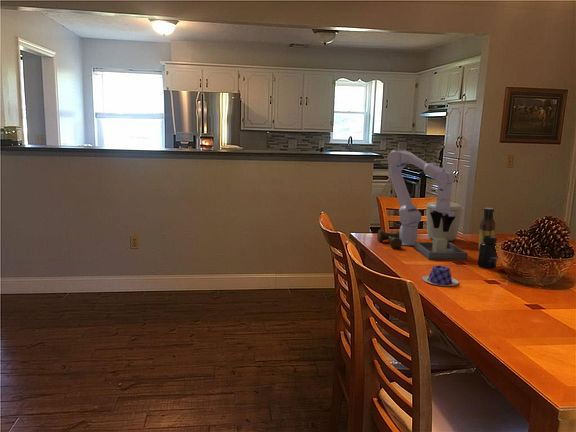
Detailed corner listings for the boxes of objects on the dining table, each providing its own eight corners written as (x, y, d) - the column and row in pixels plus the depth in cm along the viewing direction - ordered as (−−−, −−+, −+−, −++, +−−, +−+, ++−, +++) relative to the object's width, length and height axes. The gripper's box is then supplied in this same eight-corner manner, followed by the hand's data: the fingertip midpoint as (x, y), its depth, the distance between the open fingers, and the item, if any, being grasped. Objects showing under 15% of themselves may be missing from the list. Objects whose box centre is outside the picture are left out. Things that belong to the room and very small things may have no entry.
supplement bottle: (493, 270, 173) (497, 239, 171) (475, 266, 177) (478, 236, 175) (498, 266, 179) (501, 236, 176) (480, 263, 183) (483, 234, 180)
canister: (416, 239, 222) (420, 196, 219) (430, 233, 237) (433, 193, 233) (454, 245, 212) (458, 200, 208) (465, 239, 226) (470, 197, 222)
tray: (414, 248, 203) (415, 242, 203) (449, 249, 204) (450, 242, 204) (428, 259, 186) (429, 252, 185) (466, 260, 187) (467, 253, 186)
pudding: (422, 275, 165) (423, 261, 165) (457, 279, 162) (459, 265, 161) (421, 285, 154) (422, 270, 153) (459, 289, 151) (460, 274, 150)
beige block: (431, 250, 197) (432, 237, 196) (441, 251, 197) (443, 237, 196) (435, 253, 193) (436, 239, 191) (446, 253, 193) (447, 239, 192)
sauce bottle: (490, 251, 203) (495, 207, 199) (495, 254, 197) (500, 209, 193) (475, 250, 203) (480, 206, 200) (479, 254, 197) (484, 208, 194)
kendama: (385, 250, 202) (374, 238, 221) (406, 250, 202) (393, 239, 222) (386, 236, 201) (375, 226, 220) (408, 237, 201) (395, 227, 221)
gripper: (426, 196, 203) (424, 226, 205) (444, 201, 189) (441, 233, 191) (441, 196, 205) (438, 226, 207) (459, 201, 191) (456, 233, 193)
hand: (440, 229), depth 199 cm, fingers open, 7 cm apart
